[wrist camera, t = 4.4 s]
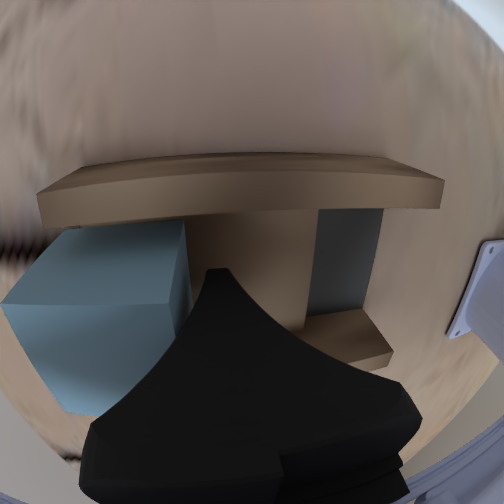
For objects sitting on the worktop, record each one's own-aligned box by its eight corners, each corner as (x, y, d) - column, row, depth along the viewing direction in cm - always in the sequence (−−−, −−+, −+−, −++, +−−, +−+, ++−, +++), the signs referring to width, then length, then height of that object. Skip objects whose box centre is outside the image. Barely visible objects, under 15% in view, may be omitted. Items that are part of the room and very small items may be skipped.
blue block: (183, 219, 9) (168, 303, 5) (196, 324, 11) (196, 420, 8) (65, 229, 9) (-1, 303, 5) (94, 327, 11) (66, 412, 7)
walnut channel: (387, 158, 11) (444, 180, 8) (356, 320, 15) (387, 366, 12) (81, 167, 9) (36, 193, 6) (124, 344, 13) (113, 401, 10)
